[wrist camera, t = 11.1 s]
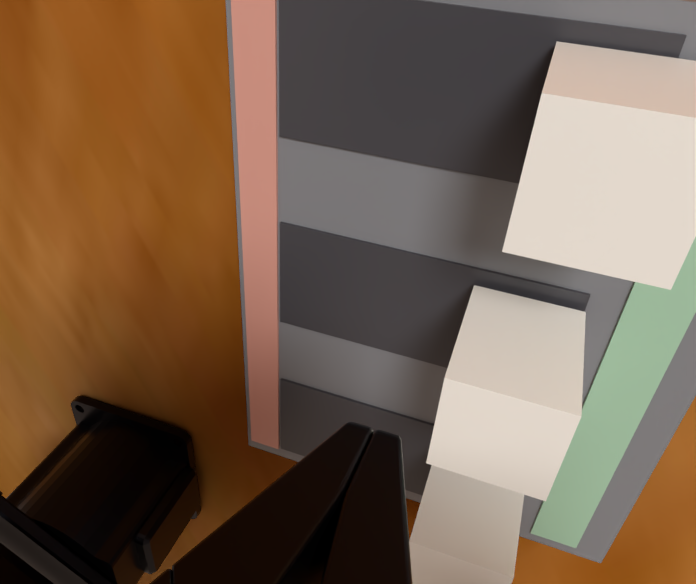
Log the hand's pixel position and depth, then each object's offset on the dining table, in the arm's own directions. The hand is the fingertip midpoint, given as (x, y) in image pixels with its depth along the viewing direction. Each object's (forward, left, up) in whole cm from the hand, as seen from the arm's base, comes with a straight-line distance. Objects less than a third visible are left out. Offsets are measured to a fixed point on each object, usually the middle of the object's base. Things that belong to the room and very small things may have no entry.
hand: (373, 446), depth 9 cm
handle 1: (+2, -4, -8) cm, 9 cm away
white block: (+2, -10, -8) cm, 13 cm away
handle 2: (+3, +3, -8) cm, 9 cm away
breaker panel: (0, -4, -10) cm, 11 cm away
